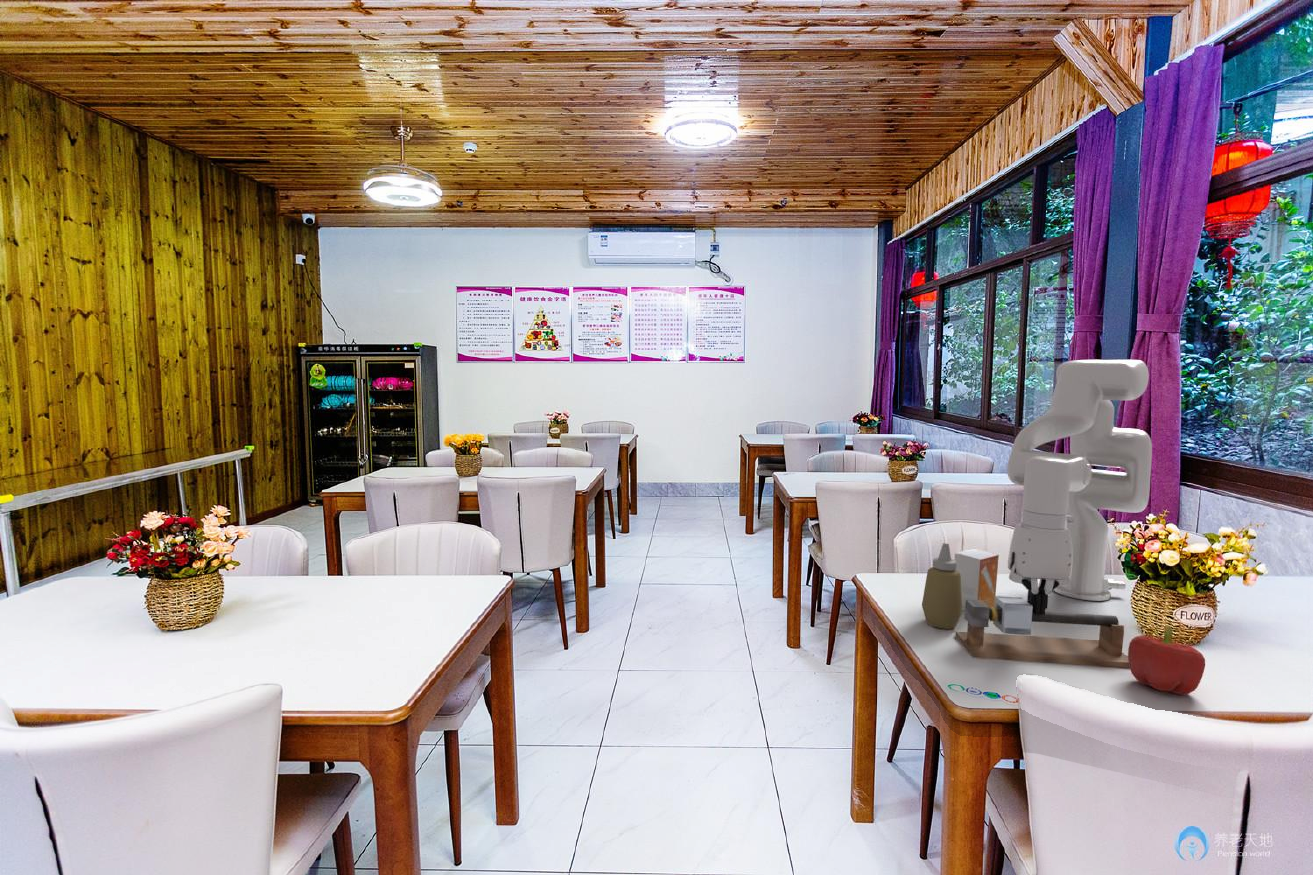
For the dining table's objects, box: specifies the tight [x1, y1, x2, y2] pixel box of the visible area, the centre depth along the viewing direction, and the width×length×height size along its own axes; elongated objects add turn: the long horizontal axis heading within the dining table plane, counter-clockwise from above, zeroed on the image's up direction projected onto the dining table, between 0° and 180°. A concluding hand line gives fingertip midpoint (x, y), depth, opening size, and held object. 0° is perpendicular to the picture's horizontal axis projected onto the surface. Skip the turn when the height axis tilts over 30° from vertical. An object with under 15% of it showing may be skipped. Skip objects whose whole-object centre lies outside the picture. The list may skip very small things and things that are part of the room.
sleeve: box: [992, 595, 1033, 636], centre depth 122 cm, size 5×5×6 cm
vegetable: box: [1127, 624, 1206, 696], centre depth 108 cm, size 11×10×10 cm
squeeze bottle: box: [921, 542, 963, 630], centre depth 134 cm, size 8×8×18 cm
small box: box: [954, 548, 1000, 611], centre depth 145 cm, size 8×6×13 cm
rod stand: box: [955, 599, 1130, 669], centre depth 122 cm, size 29×10×9 cm, turn 83°
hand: (1036, 611), depth 122 cm, fingers closed
